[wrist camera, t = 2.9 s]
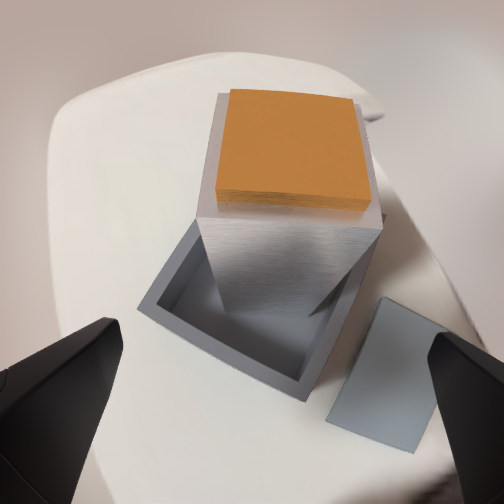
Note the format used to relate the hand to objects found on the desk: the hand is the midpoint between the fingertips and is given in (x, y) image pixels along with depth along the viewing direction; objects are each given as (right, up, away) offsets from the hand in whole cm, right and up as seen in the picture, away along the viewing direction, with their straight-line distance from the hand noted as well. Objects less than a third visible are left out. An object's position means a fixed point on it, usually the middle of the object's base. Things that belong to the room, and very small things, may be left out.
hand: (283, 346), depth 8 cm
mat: (+9, -6, +11) cm, 15 cm away
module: (0, +1, +12) cm, 12 cm away
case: (0, +1, +13) cm, 13 cm away
